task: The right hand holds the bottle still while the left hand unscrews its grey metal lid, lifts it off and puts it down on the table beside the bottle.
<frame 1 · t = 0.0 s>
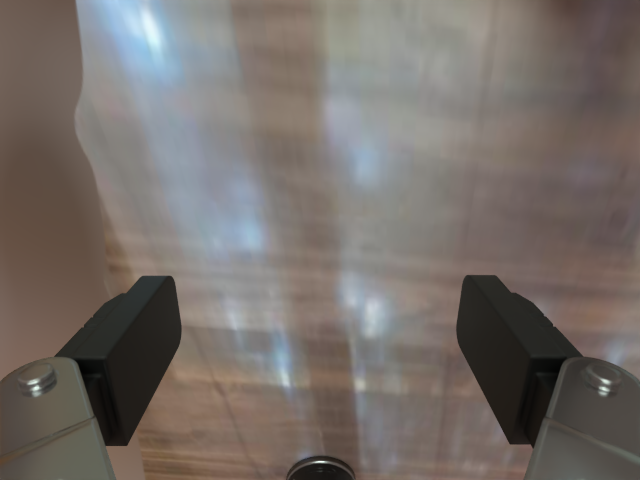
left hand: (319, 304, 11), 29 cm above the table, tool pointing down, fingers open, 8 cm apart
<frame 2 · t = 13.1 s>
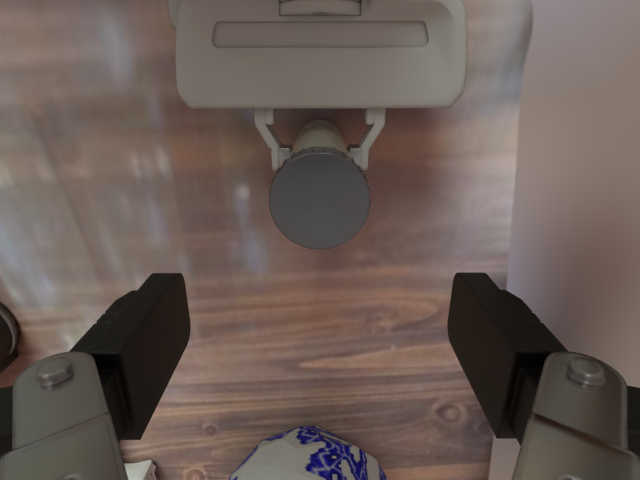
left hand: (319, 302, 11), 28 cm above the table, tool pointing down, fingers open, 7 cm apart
ornament: (310, 452, 53), on the table
bottle: (320, 144, 38), on the table, touching right hand
lid: (319, 201, 21), point 18 cm above the table, screwed on, not yet turned
pistol: (73, 456, 53), on the table
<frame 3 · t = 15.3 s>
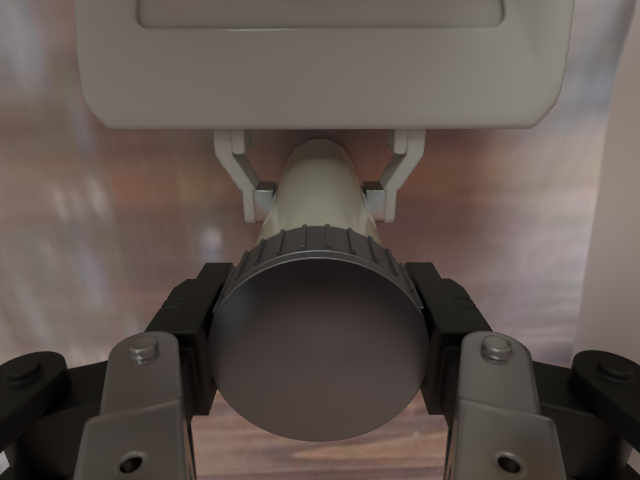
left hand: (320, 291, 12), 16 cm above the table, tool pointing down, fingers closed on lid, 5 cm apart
bottle: (319, 173, 27), on the table, touching right hand
lid: (318, 349, 10), point 18 cm above the table, screwed on, not yet turned, touching left hand
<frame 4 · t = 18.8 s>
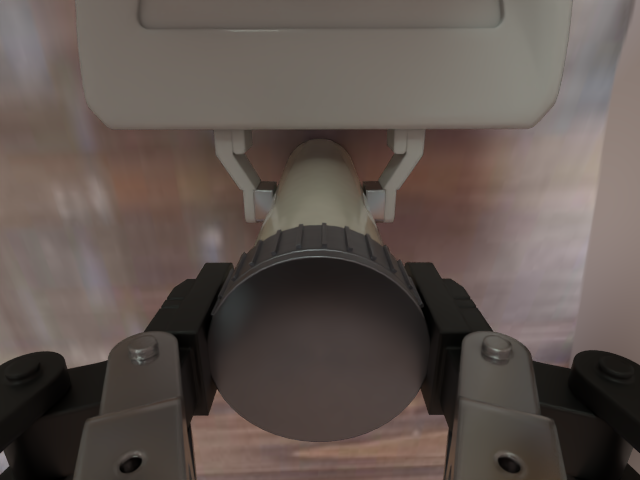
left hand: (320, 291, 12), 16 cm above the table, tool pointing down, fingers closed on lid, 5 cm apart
bottle: (319, 173, 27), on the table, touching right hand
lid: (318, 349, 9), point 19 cm above the table, turned 76° so far, risen 0.1 cm, still on its thread, touching left hand
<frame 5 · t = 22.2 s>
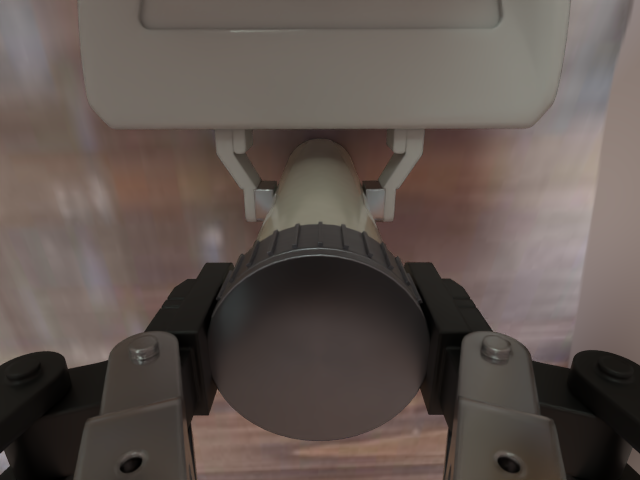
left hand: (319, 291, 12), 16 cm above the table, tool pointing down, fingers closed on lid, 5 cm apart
bottle: (319, 173, 27), on the table, touching right hand
lid: (318, 348, 9), point 19 cm above the table, turned 153° so far, risen 0.3 cm, still on its thread, touching left hand
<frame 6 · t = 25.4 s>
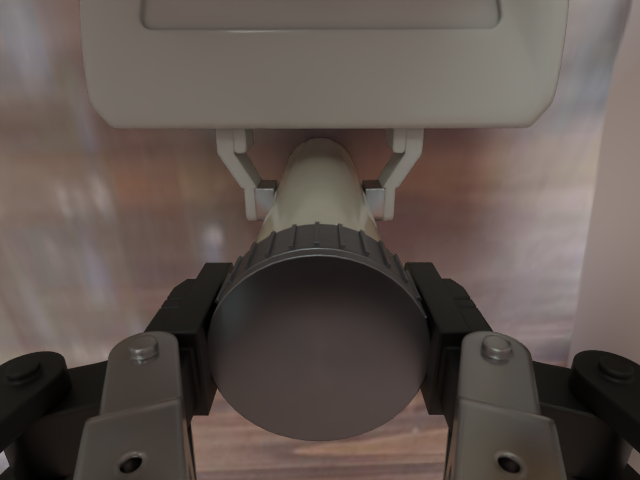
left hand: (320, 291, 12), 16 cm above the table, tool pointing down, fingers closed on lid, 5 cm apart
bottle: (320, 172, 27), on the table, touching right hand
lid: (318, 348, 9), point 19 cm above the table, turned 229° so far, risen 0.4 cm, still on its thread, touching left hand
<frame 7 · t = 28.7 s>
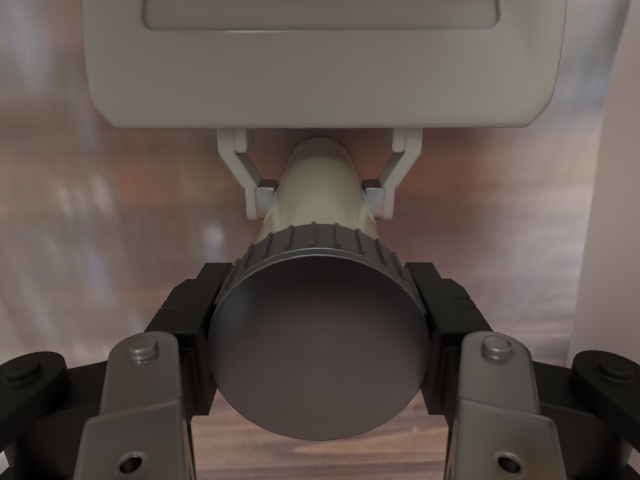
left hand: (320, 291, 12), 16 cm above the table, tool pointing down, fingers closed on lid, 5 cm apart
bottle: (320, 172, 27), on the table, touching right hand
lid: (318, 347, 9), point 19 cm above the table, turned 305° so far, risen 0.5 cm, still on its thread, touching left hand
when the left hand's fingers open (0 cm above the table, at t = 38.6 s): lid drops 2 cm, point 2 cm above the table.
when the right hand's fingers open (7 cm above the table, at t = 39.6 s): bottle stays where it is, on the table.
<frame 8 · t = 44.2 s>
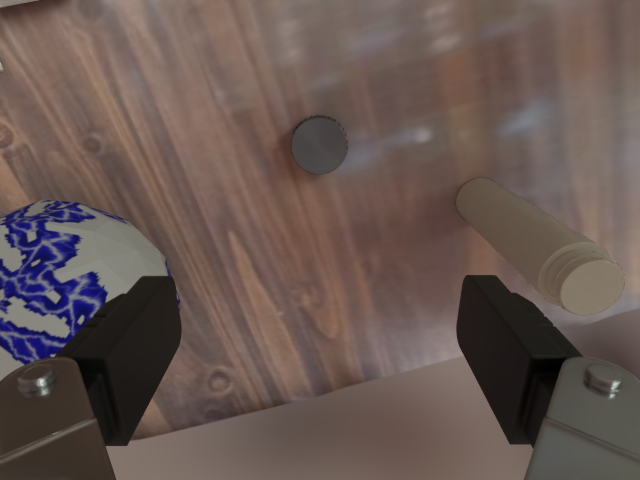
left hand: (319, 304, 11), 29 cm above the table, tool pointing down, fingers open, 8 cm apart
ornament: (109, 268, 44), on the table
bottle: (478, 199, 41), on the table
lid: (319, 146, 37), point 2 cm above the table, off its thread
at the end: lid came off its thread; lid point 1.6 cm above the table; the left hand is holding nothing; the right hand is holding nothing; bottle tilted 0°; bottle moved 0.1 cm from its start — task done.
